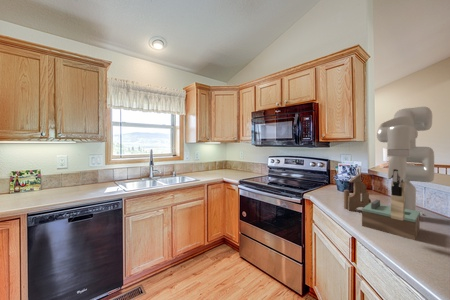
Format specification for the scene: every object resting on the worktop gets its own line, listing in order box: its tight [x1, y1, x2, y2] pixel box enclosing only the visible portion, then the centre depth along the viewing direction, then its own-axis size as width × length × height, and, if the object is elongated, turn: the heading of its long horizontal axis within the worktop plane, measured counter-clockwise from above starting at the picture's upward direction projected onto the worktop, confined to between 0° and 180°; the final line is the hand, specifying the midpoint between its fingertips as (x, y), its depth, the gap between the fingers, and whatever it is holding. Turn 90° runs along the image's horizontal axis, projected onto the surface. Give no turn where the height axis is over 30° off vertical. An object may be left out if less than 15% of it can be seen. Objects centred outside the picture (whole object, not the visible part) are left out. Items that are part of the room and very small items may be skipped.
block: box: [390, 181, 405, 221], centre depth 86 cm, size 4×4×16 cm
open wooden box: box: [361, 211, 421, 241], centre depth 99 cm, size 16×20×9 cm
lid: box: [361, 199, 421, 222], centre depth 99 cm, size 16×20×4 cm
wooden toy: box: [343, 173, 373, 212], centre depth 128 cm, size 16×7×25 cm, turn 72°
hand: (397, 194), depth 86 cm, fingers closed on block, 4 cm apart
